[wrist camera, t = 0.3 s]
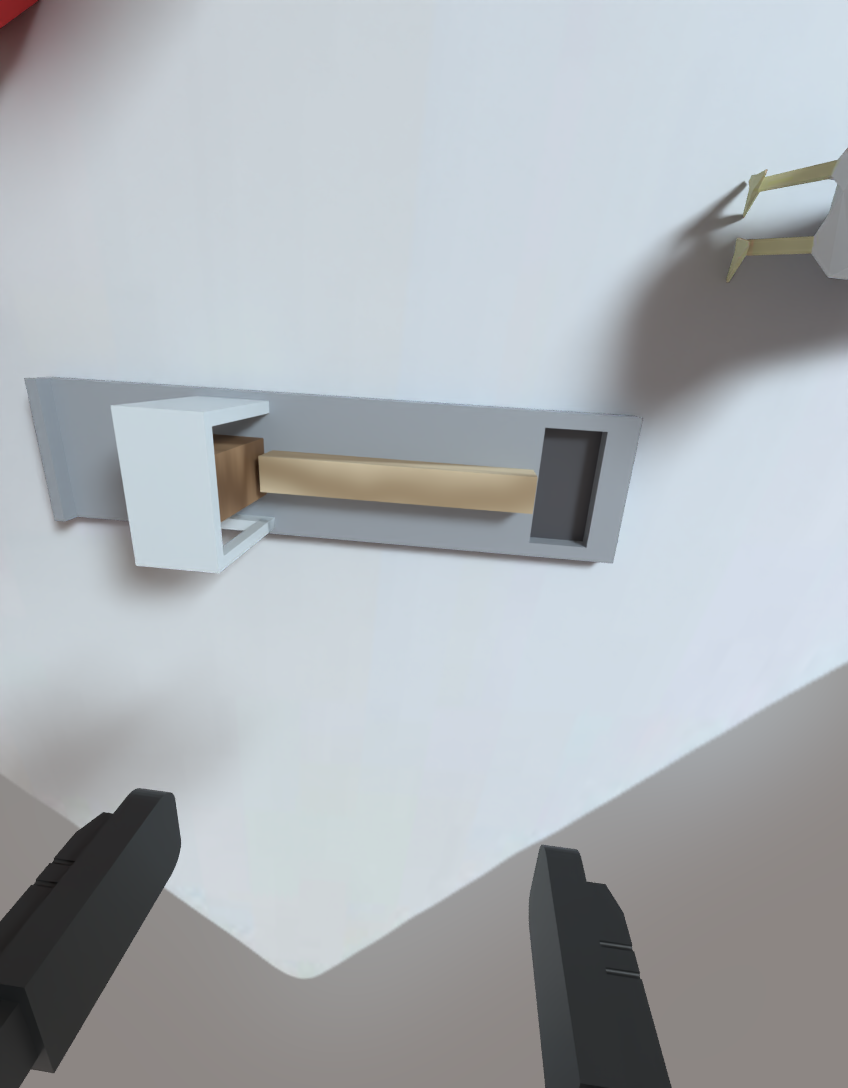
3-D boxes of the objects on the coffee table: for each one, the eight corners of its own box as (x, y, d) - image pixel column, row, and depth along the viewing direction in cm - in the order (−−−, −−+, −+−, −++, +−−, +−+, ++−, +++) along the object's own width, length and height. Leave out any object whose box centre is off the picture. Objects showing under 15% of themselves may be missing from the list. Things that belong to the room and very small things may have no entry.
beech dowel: (272, 450, 34) (258, 456, 32) (533, 469, 33) (537, 477, 31) (274, 483, 35) (260, 492, 33) (528, 504, 34) (532, 514, 31)
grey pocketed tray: (53, 377, 35) (-98, 381, 26) (635, 416, 32) (701, 436, 23) (79, 510, 39) (-46, 556, 29) (607, 555, 36) (654, 622, 27)
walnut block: (207, 433, 34) (144, 450, 28) (263, 437, 34) (213, 455, 27) (212, 489, 35) (154, 517, 29) (266, 494, 35) (219, 523, 29)
